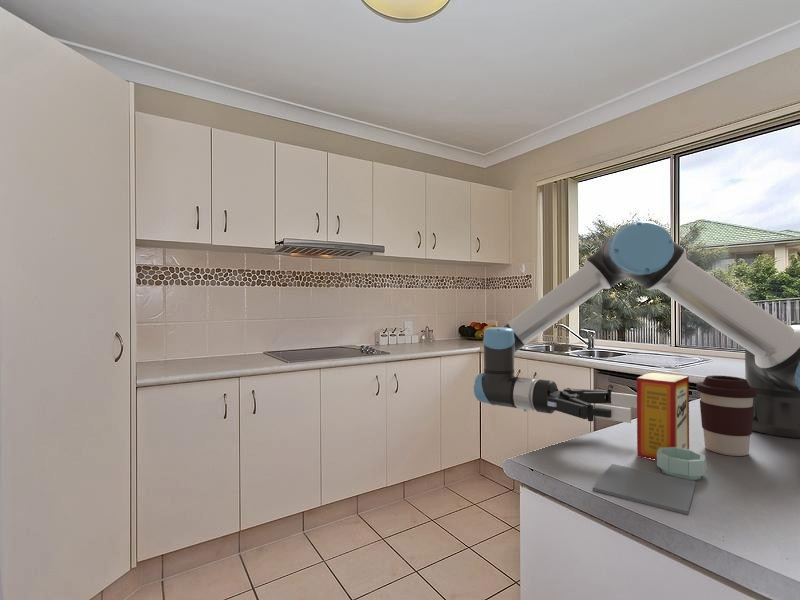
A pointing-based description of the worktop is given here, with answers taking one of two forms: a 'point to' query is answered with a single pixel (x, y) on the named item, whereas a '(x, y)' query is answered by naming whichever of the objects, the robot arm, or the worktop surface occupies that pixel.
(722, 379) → the coffee cup
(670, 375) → the baking soda box
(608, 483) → the mat
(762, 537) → the worktop surface
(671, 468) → the bowl
